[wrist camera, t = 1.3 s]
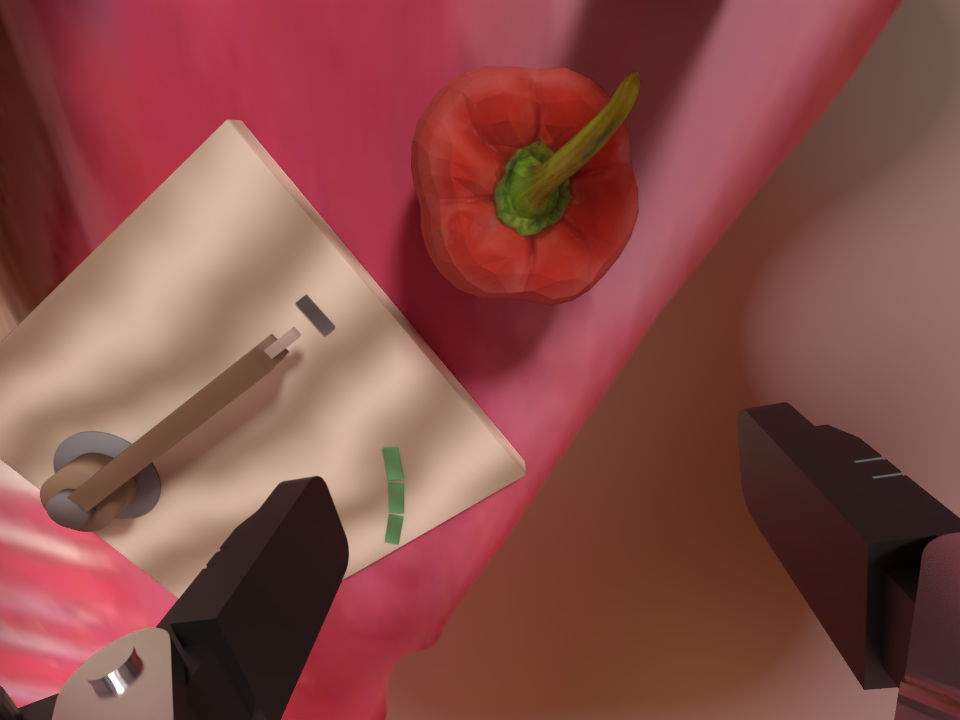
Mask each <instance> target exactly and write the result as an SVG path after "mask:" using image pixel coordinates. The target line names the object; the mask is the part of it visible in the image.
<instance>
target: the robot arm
mask: <svg viewBox="0 0 960 720" xmlns="http://www.w3.org/2000/svg"><path fill="white" fill-rule="evenodd" d="M737 428H738V442H739V457H740V472H741V485H742V491H743V496H744V499H745V502H746V506H747V508H748V511H749V513H750V515H751V517H752V519H753V521H754V522H755V524H756V525H757V527H758V528H759V530H760V531H761V533H762V534H763V536H764V537H765V539H766V541H767V542H768V543H769V545H770V547H771V548H772V550H773V551H774V553H775V554H776V556H777V557H778V559H779V560H780V562H781V563H782V565H783V567H784V568H785V570H786V571H787V573H788V574H789V575H790V577H791V579H792V580H793V582H794V583H795V585H796V586H797V588H798V589H799V591H800V593H801V594H802V595H803V597H804V599H805V600H806V602H807V603H808V605H809V606H810V608H811V609H812V611H813V612H814V614H815V615H816V617H817V618H818V620H819V621H820V623H821V625H822V626H823V628H824V629H825V630H826V632H827V634H828V635H829V637H830V638H831V640H832V641H833V643H834V645H835V646H836V648H837V649H838V651H839V652H840V654H841V655H842V657H843V658H844V660H845V661H846V663H847V664H848V666H849V667H850V669H851V671H852V672H853V674H854V675H855V677H856V678H857V680H858V681H859V683H860V684H861V685H862V687H863V689H864V690H868V689H881V688H892V687H898V688H899V693H898V699H897V706H896V712H895V719H894V720H960V518H959V517H958V516H956V515H955V514H954V513H953V512H951V511H950V510H949V509H948V508H946V507H945V506H944V505H942V504H941V503H940V502H939V501H938V500H936V499H935V498H934V497H933V496H931V495H930V494H929V493H928V492H926V491H925V490H924V489H923V488H921V487H920V486H919V485H918V484H916V483H915V482H914V481H912V480H911V479H910V478H909V477H908V476H903V475H902V473H901V471H900V470H899V469H898V468H896V467H895V466H894V465H893V464H891V463H890V462H889V461H888V460H883V459H882V456H881V455H880V454H879V453H878V452H876V451H875V450H874V449H873V448H871V447H870V446H869V445H868V444H866V443H865V442H864V441H863V440H861V439H860V438H859V437H856V436H854V435H851V434H849V433H846V432H844V431H842V430H839V429H837V428H834V427H832V426H829V425H821V426H814V425H813V424H812V423H810V422H809V421H808V420H807V419H806V418H805V417H803V416H802V415H801V414H800V413H799V412H798V411H797V410H796V409H795V408H793V407H792V406H791V405H790V404H788V403H786V402H783V403H777V404H771V405H764V406H758V407H752V408H746V409H741V410H740V411H739V412H738V416H737ZM348 561H349V546H348V540H347V537H346V534H345V531H344V529H343V526H342V523H341V521H340V518H339V515H338V513H337V510H336V507H335V505H334V502H333V499H332V497H331V494H330V492H329V489H328V486H327V484H326V482H325V481H324V480H323V478H321V477H319V476H313V477H306V478H300V479H294V480H288V481H283V482H281V483H279V484H278V485H277V486H276V488H275V489H274V490H273V492H272V493H271V494H270V495H269V497H268V498H267V499H266V501H265V502H264V503H263V504H262V506H261V507H260V508H259V510H257V511H256V512H255V513H254V514H252V515H251V516H250V517H249V518H247V519H246V520H245V521H244V522H242V523H241V524H240V525H239V526H237V527H236V528H235V529H234V531H233V532H232V533H231V534H230V536H229V537H228V538H227V539H226V541H225V542H224V543H223V544H222V546H221V547H220V551H218V552H216V553H215V554H214V555H213V557H212V558H211V559H210V560H209V562H208V563H207V564H206V565H207V567H206V568H205V569H202V570H201V572H200V573H199V574H198V575H197V577H196V578H195V579H194V580H193V582H192V583H191V584H190V585H189V587H188V588H187V589H186V590H185V592H184V593H183V594H182V595H181V597H180V598H179V599H178V600H177V602H176V603H175V604H174V605H173V607H172V608H171V609H170V610H169V612H168V613H167V614H166V615H165V617H164V618H163V619H162V620H161V622H160V623H159V624H158V625H157V627H156V628H146V629H142V630H138V631H135V632H133V633H130V634H127V635H125V636H123V637H121V638H119V639H117V640H115V641H114V642H112V643H110V644H108V645H107V646H105V647H104V648H102V649H101V650H99V651H98V652H97V653H96V654H94V655H93V656H92V657H90V658H89V659H88V660H87V661H86V662H85V663H83V664H82V665H81V666H80V667H79V668H78V669H77V670H76V671H75V672H74V673H73V674H72V676H71V677H70V678H69V679H68V680H67V682H66V683H65V685H64V686H63V687H62V689H61V691H60V693H58V694H55V695H53V696H50V697H47V698H45V699H42V700H39V701H37V702H34V703H31V704H29V705H26V706H23V707H20V708H17V707H16V705H15V704H14V703H13V701H12V700H11V698H10V697H9V696H8V694H7V693H6V692H5V690H4V689H3V687H1V686H0V720H281V718H282V715H283V713H284V711H285V709H286V706H287V704H288V702H289V699H290V697H291V695H292V693H293V690H294V688H295V686H296V684H297V681H298V679H299V677H300V675H301V672H302V670H303V668H304V665H305V663H306V661H307V659H308V656H309V654H310V652H311V650H312V647H313V645H314V643H315V641H316V638H317V636H318V634H319V631H320V629H321V627H322V625H323V622H324V620H325V618H326V616H327V613H328V611H329V609H330V607H331V604H332V602H333V600H334V597H335V595H336V593H337V591H338V588H339V586H340V584H341V582H342V579H343V577H344V575H345V573H346V570H347V566H348Z"/></svg>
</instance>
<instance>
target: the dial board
mask: <svg viewBox="0 0 960 720" xmlns="http://www.w3.org/2000/svg"><path fill="white" fill-rule="evenodd" d="M293 327H295V328H296V329H297V330H298V331H299V332H300V334H301V336H300V337H299V338H298V339H297V340H296V341H294V342H293V343H292V344H291V345H289V346H288V347H287V348H286V349H287V350H288V351H289V353H288V354H287V355H286V356H285V357H284V358H283V359H282V360H281V361H280V362H279V363H278V364H277V365H276V366H275V367H274V368H273V369H272V370H271V371H270V372H269V373H268V374H267V375H266V376H264V377H263V378H262V379H260V380H259V381H258V382H257V383H255V384H254V385H253V386H251V387H250V388H249V389H247V390H246V391H245V392H243V393H242V394H241V395H239V396H238V397H237V398H236V399H234V400H233V401H232V402H230V403H229V404H228V405H226V406H225V407H224V408H222V409H221V410H220V411H218V412H217V413H216V414H215V415H213V416H212V417H211V418H209V419H208V420H207V421H205V422H204V423H203V424H201V425H200V426H199V427H198V428H196V429H195V430H194V431H192V432H191V433H190V434H188V435H187V436H186V437H184V438H183V439H182V440H180V441H179V442H178V443H177V444H175V445H174V446H173V447H171V448H170V449H169V450H167V451H166V452H165V453H163V454H162V455H161V456H160V457H158V458H157V459H156V460H154V461H153V462H152V463H150V464H149V465H148V466H146V467H145V468H144V469H142V470H141V471H140V472H139V473H137V474H136V475H135V476H134V478H135V480H136V484H137V493H136V496H135V498H134V499H133V500H132V501H131V502H130V503H129V504H128V505H127V506H126V507H125V508H124V509H123V510H122V511H121V512H120V513H119V514H118V515H117V516H116V517H115V518H114V519H113V520H112V521H111V522H110V523H109V524H108V525H107V526H106V527H104V528H103V529H101V530H98V531H93V532H94V533H96V534H97V535H98V536H99V537H101V538H102V539H103V540H104V541H106V542H107V543H108V544H110V545H111V546H112V547H113V548H115V549H116V550H117V551H118V552H120V553H121V554H122V555H124V556H125V557H126V558H127V559H129V560H130V561H131V562H133V563H134V564H135V565H136V566H138V567H139V568H140V569H141V570H143V571H144V572H145V573H147V574H148V575H149V576H150V577H152V578H153V579H154V580H155V581H157V582H158V583H159V584H161V585H162V586H163V587H164V588H166V589H167V590H168V591H169V592H171V593H172V594H173V595H175V596H176V597H177V598H178V599H179V598H180V597H181V595H182V594H183V593H184V592H185V590H186V589H187V588H188V587H189V585H190V584H191V583H192V582H193V580H194V579H195V578H196V577H197V575H198V574H199V573H200V572H201V570H202V569H205V568H206V567H207V565H206V564H207V563H208V562H209V560H210V559H211V558H212V557H213V555H214V554H215V553H216V552H218V551H220V547H221V546H222V544H223V543H224V542H225V541H226V539H227V538H228V537H229V536H230V534H231V533H232V532H233V531H234V529H235V528H236V527H237V526H239V525H240V524H241V523H242V522H244V521H245V520H246V519H247V518H249V517H250V516H251V515H252V514H254V513H255V512H256V511H257V510H259V508H260V507H261V506H262V504H263V503H264V502H265V501H266V499H267V498H268V497H269V495H270V494H271V493H272V492H273V490H274V489H275V488H276V486H277V485H278V484H279V483H281V482H283V481H288V480H294V479H300V478H306V477H313V476H319V477H321V478H323V480H324V481H325V482H326V484H327V486H328V489H329V492H330V494H331V497H332V499H333V502H334V505H335V507H336V510H337V513H338V515H339V518H340V521H341V523H342V526H343V529H344V531H345V534H346V537H347V540H348V546H349V561H348V566H347V570H346V573H345V575H344V577H343V579H342V580H344V579H345V578H347V577H349V576H351V575H352V574H354V573H356V572H358V571H359V570H361V569H363V568H365V567H366V566H368V565H370V564H372V563H373V562H375V561H377V560H378V559H380V558H382V557H384V556H385V555H387V554H389V553H391V552H392V551H394V550H396V549H398V548H399V547H401V546H403V545H405V544H406V543H408V542H410V541H411V540H413V539H415V538H417V537H418V536H420V535H422V534H424V533H425V532H427V531H429V530H431V529H432V528H434V527H436V526H438V525H439V524H441V523H443V522H444V521H446V520H448V519H450V518H451V517H453V516H455V515H457V514H458V513H460V512H462V511H464V510H465V509H467V508H469V507H471V506H472V505H474V504H476V503H477V502H479V501H481V500H483V499H484V498H486V497H488V496H490V495H491V494H493V493H495V492H497V491H498V490H500V489H502V488H504V487H505V486H507V485H509V484H510V483H512V482H514V481H516V480H517V479H519V478H521V477H523V476H524V475H526V470H525V461H524V460H523V458H522V457H521V456H520V455H519V454H518V452H517V451H516V450H515V449H514V448H513V446H512V445H511V444H510V443H509V442H508V440H507V439H506V438H505V437H504V436H503V434H502V433H501V432H500V431H499V430H498V428H497V427H496V426H495V425H494V424H493V422H492V421H491V420H490V419H489V418H488V416H487V415H486V414H485V413H484V411H483V410H482V409H481V408H480V407H479V405H478V404H477V403H476V402H475V401H474V399H473V398H472V397H471V396H470V395H469V393H468V392H467V391H466V390H465V389H464V387H463V386H462V385H461V384H460V383H459V381H458V380H457V379H456V378H455V377H454V375H453V374H452V373H451V372H450V371H449V369H448V368H447V367H446V366H445V365H444V363H443V362H442V361H441V360H440V359H439V357H438V356H437V355H436V354H435V353H434V351H433V350H432V349H431V348H430V347H429V345H428V344H427V343H426V342H425V341H424V339H423V338H422V337H421V336H420V335H419V333H418V332H417V331H416V330H415V329H414V327H413V326H412V325H411V324H410V323H409V321H408V320H407V319H406V318H405V317H404V315H403V314H402V313H401V312H400V311H399V309H398V308H397V307H396V306H395V305H394V303H393V302H392V301H391V300H390V299H389V297H388V296H387V295H386V294H385V293H384V291H383V290H382V289H381V288H380V287H379V285H378V284H377V283H376V282H375V281H374V279H373V278H372V277H371V276H370V275H369V273H368V272H367V271H366V270H365V269H364V267H363V266H362V265H361V264H360V263H359V261H358V260H357V259H356V258H355V257H354V255H353V254H352V253H351V252H350V251H349V249H348V248H347V247H346V246H345V245H344V243H343V242H342V241H341V240H340V239H339V237H338V236H337V235H336V234H335V232H334V231H333V230H332V229H331V228H330V226H329V225H328V224H327V223H326V222H325V220H324V219H323V218H322V217H321V216H320V214H319V213H318V212H317V211H316V210H315V208H314V207H313V206H312V205H311V204H310V202H309V201H308V200H307V199H306V198H305V196H304V195H303V194H302V193H301V192H300V190H299V189H298V188H297V187H296V186H295V184H294V183H293V182H292V181H291V180H290V178H289V177H288V176H287V175H286V174H285V172H284V171H283V170H282V169H281V168H280V166H279V165H278V164H277V163H276V162H275V160H274V159H273V158H272V157H271V156H270V154H269V153H268V152H267V151H266V150H265V148H264V147H263V146H262V145H261V144H260V142H259V141H258V140H257V139H256V138H255V136H254V135H253V134H252V133H251V132H250V130H249V129H248V128H247V127H246V126H245V124H244V123H243V122H242V121H241V120H226V121H225V122H224V123H223V124H222V125H221V126H220V127H219V128H218V129H217V130H216V131H215V132H214V133H213V134H212V135H211V136H210V137H209V138H208V139H207V140H206V141H205V142H204V143H203V144H202V145H201V146H200V147H199V148H198V149H197V150H196V151H195V152H194V153H193V154H192V155H191V156H190V157H189V158H188V159H187V160H186V161H185V162H184V163H183V164H182V165H181V166H180V167H179V168H178V169H177V170H176V171H175V172H173V173H172V174H171V175H170V176H169V177H168V178H167V179H166V180H165V181H164V182H163V183H162V184H161V185H160V186H159V187H158V188H157V189H156V190H155V191H154V192H153V193H152V194H151V195H150V196H149V197H148V198H147V199H146V200H145V201H144V202H143V203H142V204H141V205H140V206H139V207H138V208H137V209H136V210H135V211H134V212H133V213H132V214H131V215H130V216H129V217H128V218H127V219H126V220H125V221H124V222H123V223H122V224H121V225H120V226H119V227H118V228H117V229H116V230H115V231H114V232H113V233H112V234H110V235H109V236H108V237H107V238H106V239H105V240H104V241H103V242H102V243H101V244H100V245H99V246H98V247H97V248H96V249H95V250H94V251H93V252H92V253H91V254H90V255H89V256H88V257H87V258H86V259H85V260H84V261H83V262H82V263H81V264H80V265H79V266H78V267H77V268H76V269H75V270H74V271H73V272H72V273H71V274H70V275H69V276H68V277H67V278H66V279H65V280H64V281H63V282H62V283H61V284H60V285H59V286H58V287H57V288H56V289H55V290H54V291H53V292H52V293H51V294H50V295H49V296H47V297H46V298H45V299H44V300H43V301H42V302H41V303H40V304H39V305H38V306H37V307H36V308H35V309H34V310H33V311H32V312H31V313H30V314H29V315H28V316H27V317H26V318H25V319H24V320H23V321H22V322H21V323H20V324H19V325H18V326H17V327H16V328H15V329H14V330H13V331H12V332H11V333H10V334H9V335H8V336H7V337H6V338H5V339H4V340H3V341H2V342H1V343H0V459H1V460H2V461H4V462H5V463H6V464H8V465H9V466H10V467H11V468H13V469H14V470H15V471H16V472H18V473H19V474H20V475H22V476H23V477H24V478H25V479H27V480H28V481H29V482H31V483H32V484H33V485H34V486H36V487H37V488H38V489H39V490H41V487H42V485H43V483H44V482H45V481H46V480H47V479H49V478H50V477H51V476H53V475H54V474H55V473H57V472H58V471H59V470H61V469H62V468H63V467H65V466H66V465H67V464H68V463H70V462H71V461H72V460H74V459H75V458H76V457H78V456H80V455H82V454H85V453H101V454H105V455H108V456H111V457H113V458H115V457H116V456H118V455H119V454H120V453H121V452H123V451H124V450H125V449H126V448H128V447H129V446H130V445H132V444H133V443H134V442H135V441H137V440H138V439H139V438H140V437H142V436H143V435H144V434H145V433H147V432H148V431H149V430H150V429H152V428H153V427H154V426H156V425H157V424H158V423H159V422H161V421H162V420H163V419H164V418H166V417H167V416H168V415H169V414H171V413H172V412H173V411H175V410H176V409H177V408H178V407H180V406H181V405H182V404H183V403H185V402H186V401H187V400H188V399H190V398H191V397H192V396H193V395H195V394H196V393H197V392H199V391H200V390H201V389H202V388H204V387H205V386H206V385H207V384H209V383H210V382H211V381H212V380H214V379H215V378H216V377H217V376H219V375H220V374H221V373H223V372H224V371H225V370H226V369H228V368H229V367H230V366H231V365H233V364H234V363H235V362H236V361H238V360H239V359H240V358H242V357H243V356H244V355H245V354H247V353H248V352H249V351H250V350H252V349H253V348H254V347H255V346H257V345H258V344H259V343H260V342H262V341H263V340H264V339H266V338H267V337H268V336H269V335H271V334H273V335H274V336H275V337H276V338H277V339H279V338H280V337H281V336H282V335H284V334H285V333H286V332H288V331H289V330H290V329H291V328H293Z"/></svg>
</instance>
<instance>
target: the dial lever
mask: <svg viewBox="0 0 960 720" xmlns="http://www.w3.org/2000/svg"><path fill="white" fill-rule="evenodd" d="M300 336H301V334H300V332H299V331H298V330H297V329H296V328H295V327H293V328H291V329H290V330H289V331H288V332H286V333H285V334H284V335H282V336H281V337H280V338H279V339H277V338H276V337H275V336H274V335H273V334H271V335H269V336H268V337H267V338H266V339H264V340H263V341H262V342H260V343H259V344H258V345H257V346H255V347H254V348H253V349H252V350H250V351H249V352H248V353H247V354H245V355H244V356H243V357H242V358H240V359H239V360H238V361H236V362H235V363H234V364H233V365H231V366H230V367H229V368H228V369H226V370H225V371H224V372H223V373H221V374H220V375H219V376H217V377H216V378H215V379H214V380H212V381H211V382H210V383H209V384H207V385H206V386H205V387H204V388H202V389H201V390H200V391H199V392H197V393H196V394H195V395H193V396H192V397H191V398H190V399H188V400H187V401H186V402H185V403H183V404H182V405H181V406H180V407H178V408H177V409H176V410H175V411H173V412H172V413H171V414H169V415H168V416H167V417H166V418H164V419H163V420H162V421H161V422H159V423H158V424H157V425H156V426H154V427H153V428H152V429H150V430H149V431H148V432H147V433H145V434H144V435H143V436H142V437H140V438H139V439H138V440H137V441H135V442H134V443H133V444H132V445H130V446H129V447H128V448H126V449H125V450H124V451H123V452H121V453H120V454H119V455H118V456H116V457H115V458H113V457H111V456H108V455H105V454H101V453H85V454H82V455H80V456H78V457H76V458H75V459H74V460H72V461H71V462H70V463H68V464H67V465H66V466H65V467H63V468H62V469H61V470H59V471H58V472H57V473H55V474H54V475H53V476H51V477H50V478H49V479H47V480H46V481H45V482H44V483H43V485H42V487H41V490H40V498H41V502H42V504H43V506H44V508H45V509H46V511H47V513H48V515H49V516H50V517H51V519H52V520H53V521H55V522H56V523H58V524H59V525H61V526H64V527H67V528H71V529H74V530H77V531H83V532H93V531H98V530H101V529H103V528H104V527H106V526H107V525H108V524H109V523H110V522H111V521H112V520H113V519H114V518H115V517H116V516H117V515H118V514H119V513H120V512H121V511H122V510H123V509H124V508H125V507H126V506H127V505H128V504H129V503H130V502H131V501H132V500H133V499H134V498H135V496H136V493H137V484H136V480H135V478H134V476H135V475H136V474H137V473H139V472H140V471H141V470H142V469H144V468H145V467H146V466H148V465H149V464H150V463H152V462H153V461H154V460H156V459H157V458H158V457H160V456H161V455H162V454H163V453H165V452H166V451H167V450H169V449H170V448H171V447H173V446H174V445H175V444H177V443H178V442H179V441H180V440H182V439H183V438H184V437H186V436H187V435H188V434H190V433H191V432H192V431H194V430H195V429H196V428H198V427H199V426H200V425H201V424H203V423H204V422H205V421H207V420H208V419H209V418H211V417H212V416H213V415H215V414H216V413H217V412H218V411H220V410H221V409H222V408H224V407H225V406H226V405H228V404H229V403H230V402H232V401H233V400H234V399H236V398H237V397H238V396H239V395H241V394H242V393H243V392H245V391H246V390H247V389H249V388H250V387H251V386H253V385H254V384H255V383H257V382H258V381H259V380H260V379H262V378H263V377H264V376H266V375H267V374H268V373H269V372H270V371H271V370H272V369H273V368H274V367H275V366H276V365H277V364H278V363H279V362H280V361H281V360H282V359H283V358H284V357H285V356H286V355H287V354H288V353H289V351H288V350H287V349H286V348H287V347H288V346H289V345H291V344H292V343H293V342H294V341H296V340H297V339H298V338H299V337H300Z"/></svg>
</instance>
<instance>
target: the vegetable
mask: <svg viewBox="0 0 960 720" xmlns="http://www.w3.org/2000/svg"><path fill="white" fill-rule="evenodd" d="M640 82H641V80H640V76H639V74H638V73H637V72H632V73H630V74H629V75H628V76H627V77H625V78H624V80H623V81H622V82H621V84H620V85H619V87H618V88H617V90H616V91H615V93H614V94H613V96H612V97H611V98H610V96H609V95H608V94H607V93H606V92H605V91H604V90H603V89H602V88H601V87H599V86H598V85H597V84H596V83H595V82H594V81H593V80H592V79H590V78H588V77H586V76H583V75H581V74H579V73H576V72H574V71H572V70H570V69H567V68H554V69H539V70H534V69H527V68H519V67H482V68H479V69H475V70H472V71H469V72H466V73H463V74H460V75H459V76H457V77H456V78H455V79H453V80H452V81H450V82H449V83H447V84H446V85H444V86H443V88H442V89H441V90H440V91H439V92H438V94H437V95H436V96H435V97H434V99H433V100H432V101H431V102H430V104H429V105H428V107H427V108H426V110H425V111H424V113H423V114H422V116H421V117H420V119H419V120H418V123H417V126H416V130H415V134H414V137H413V141H412V155H411V169H412V175H413V182H414V187H415V190H416V193H417V197H418V200H419V204H420V210H421V231H422V235H423V239H424V242H425V246H426V249H427V252H428V254H429V256H430V258H431V259H432V261H433V263H434V264H435V266H436V268H437V269H438V271H439V272H440V273H441V274H442V275H443V276H444V277H445V278H446V279H447V280H448V281H449V282H450V283H451V284H452V285H453V286H454V287H455V288H457V289H458V290H461V291H463V292H466V293H469V294H472V295H475V296H478V297H481V298H484V299H503V298H510V299H517V300H525V301H531V302H536V303H541V304H546V305H556V304H560V303H564V302H569V301H572V300H574V299H576V298H577V297H579V296H581V295H582V294H584V293H586V292H587V291H589V290H590V289H591V288H592V287H593V286H594V285H595V284H596V283H597V282H598V281H599V280H600V279H601V278H602V277H603V276H604V275H605V274H606V273H607V271H608V270H609V269H610V268H611V266H612V265H613V264H614V263H615V261H616V260H617V259H618V258H619V256H620V255H621V253H622V251H623V249H624V248H625V246H626V244H627V242H628V241H629V239H630V237H631V234H632V231H633V228H634V225H635V222H636V219H637V216H638V188H637V185H636V181H635V178H634V174H633V171H632V167H631V144H630V139H629V135H628V131H627V127H626V123H625V119H626V117H627V116H628V114H629V113H630V111H631V109H633V108H634V104H635V100H636V98H637V96H638V93H639V89H640Z"/></svg>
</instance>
